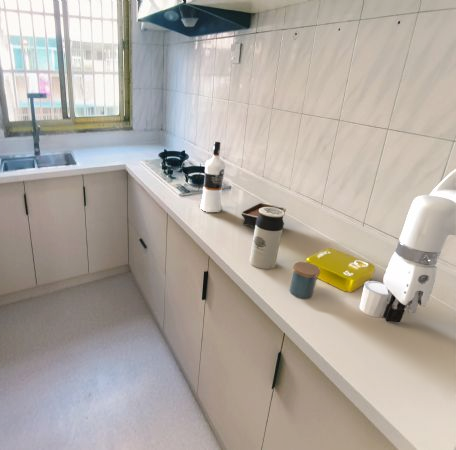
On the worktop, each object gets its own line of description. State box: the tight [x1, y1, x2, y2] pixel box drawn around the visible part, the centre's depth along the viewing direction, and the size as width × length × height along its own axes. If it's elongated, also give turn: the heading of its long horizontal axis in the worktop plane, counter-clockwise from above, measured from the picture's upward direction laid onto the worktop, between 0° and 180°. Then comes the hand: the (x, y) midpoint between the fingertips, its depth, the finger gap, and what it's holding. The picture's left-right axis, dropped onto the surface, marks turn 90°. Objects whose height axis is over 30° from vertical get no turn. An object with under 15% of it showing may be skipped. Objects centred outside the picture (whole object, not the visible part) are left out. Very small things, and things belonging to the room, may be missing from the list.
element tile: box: [305, 247, 376, 293], centre depth 103 cm, size 15×15×5 cm
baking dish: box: [240, 202, 287, 229], centre depth 134 cm, size 14×18×10 cm
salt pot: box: [289, 261, 320, 300], centre depth 92 cm, size 7×7×8 cm
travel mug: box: [249, 207, 286, 270], centre depth 105 cm, size 8×8×18 cm
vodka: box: [199, 141, 226, 213], centre depth 145 cm, size 9×9×30 cm
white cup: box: [359, 280, 389, 318], centre depth 86 cm, size 7×7×7 cm
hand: (391, 319), depth 81 cm, fingers closed
